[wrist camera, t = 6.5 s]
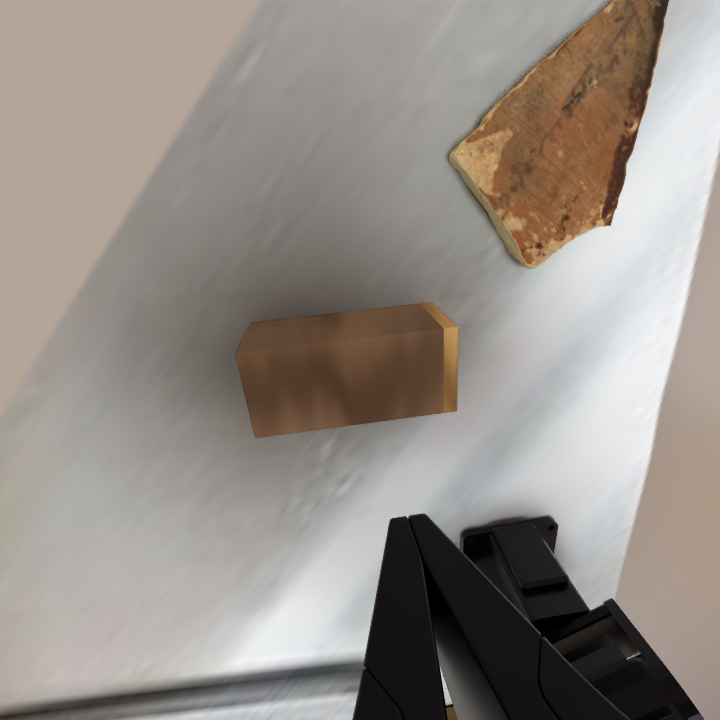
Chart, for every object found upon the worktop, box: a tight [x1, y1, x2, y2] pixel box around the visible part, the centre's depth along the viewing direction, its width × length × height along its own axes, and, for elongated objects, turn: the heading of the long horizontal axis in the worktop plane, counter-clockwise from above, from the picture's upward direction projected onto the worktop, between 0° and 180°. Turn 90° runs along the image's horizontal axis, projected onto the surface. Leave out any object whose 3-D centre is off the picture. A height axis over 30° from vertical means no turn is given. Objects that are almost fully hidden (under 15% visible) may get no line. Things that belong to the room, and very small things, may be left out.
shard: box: [448, 0, 669, 269], centre depth 17 cm, size 11×8×2 cm
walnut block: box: [235, 302, 458, 438], centre depth 18 cm, size 4×4×9 cm
